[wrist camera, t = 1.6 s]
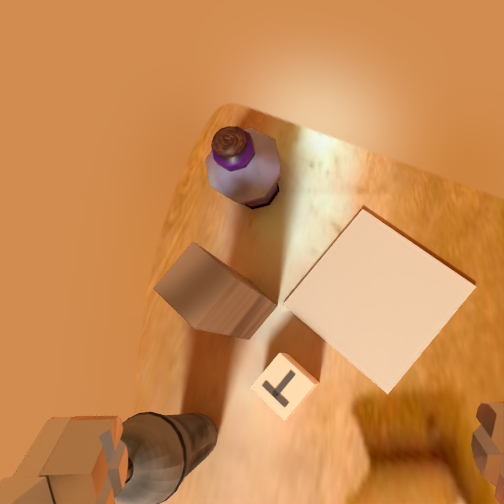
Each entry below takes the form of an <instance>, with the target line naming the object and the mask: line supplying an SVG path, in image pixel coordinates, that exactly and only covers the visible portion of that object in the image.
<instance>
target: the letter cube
mask: <svg viewBox="0 0 504 504" xmlns="http://www.w3.org/2000/svg"><path fill="white" fill-rule="evenodd" d="M318 383H319V382H318V381H317V380H316V379H315V378H314V377H313V376H312V375H311V374H310V373H308V372H307V371H306V370H305V369H304V368H303V367H302V366H301V365H300V364H298V363H297V362H296V361H295V360H294V359H293V358H292V357H291V356H290V355H289V354H287V353H279V354H278V355H277V356H276V357H275V359H274V360H273V361H272V362H271V363H270V365H269V366H268V367H267V368H266V369H265V371H264V372H263V373H262V374H261V375H260V377H259V378H258V379H257V380H256V382H255V383H254V384H253V385H252V386H251V389H252V390H253V391H254V392H255V393H256V394H257V395H258V396H259V397H260V398H261V399H262V400H263V401H265V402H266V403H267V404H268V405H269V406H270V407H271V408H272V409H273V410H274V411H275V412H276V413H277V414H278V415H279V416H280V417H281V418H282V419H283V420H284V421H285V420H287V419H288V418H289V417H291V416H292V415H293V414H294V413H295V411H296V410H297V409H298V408H299V407H300V405H301V404H302V403H303V402H304V400H305V399H306V398H307V397H308V396H309V394H310V393H311V392H312V391H313V390H314V388H315V387H316V386H317V385H318Z"/></svg>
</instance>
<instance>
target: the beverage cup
mask: <svg viewBox="0 0 504 504" xmlns="http://www.w3.org/2000/svg"><path fill="white" fill-rule="evenodd" d="M122 425H123V432H122V435H121V438H120V440H121V441H123V442H124V443H125V444H126V446H127V452H128V468H127V476H126V480H125V484H124V487H123V490H122V491H121V492H120V493H119V494H118V495H117V496H116V497H115V498H114V499H115V501H116V502H118V503H119V504H159V503H162V502H164V501H166V500H167V499H168V498H170V497H171V496H172V495H173V494H174V493H175V492H176V491H177V489H178V487H179V485H180V484H181V482H182V481H183V479H184V478H185V477H186V476H187V475H188V474H189V473H190V472H191V471H192V470H193V469H194V468H195V467H197V466H198V465H199V464H200V463H201V462H202V461H203V460H204V459H205V458H206V457H207V456H208V455H209V454H210V453H211V452H212V451H213V449H214V447H215V445H216V441H217V430H216V427H215V425H214V423H213V422H212V420H211V419H210V418H208V417H207V416H205V415H202V414H180V415H161V414H157V413H154V412H145V413H139V414H136V415H134V416H132V417H130V418H128V419H127V420H126V421H125V422H123V423H122Z"/></svg>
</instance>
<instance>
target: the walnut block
mask: <svg viewBox="0 0 504 504" xmlns="http://www.w3.org/2000/svg"><path fill="white" fill-rule="evenodd" d="M153 289H154V290H155V291H156V292H157V293H158V294H159V295H160V296H161V297H162V298H163V299H164V300H165V301H166V302H167V303H168V304H169V305H171V306H172V307H173V308H174V309H175V310H176V311H177V312H178V313H179V314H180V315H181V316H182V317H183V318H184V319H185V320H186V321H187V322H188V323H189V324H190V325H191V326H192V327H193V328H194V329H197V330H202V331H207V332H212V333H217V334H223V335H228V336H233V337H238V338H243V339H248V340H249V339H250V338H251V337H252V336H253V334H254V333H255V332H256V331H257V330H258V328H259V327H260V326H261V325H262V324H263V322H264V321H265V320H266V319H267V318H268V316H269V315H270V314H271V313H272V312H273V310H274V309H275V308H276V307H277V305H276V304H275V303H274V302H273V301H272V300H270V299H269V298H268V297H267V296H266V295H265V294H263V293H262V292H261V291H260V290H259V289H258V288H256V287H255V286H254V285H253V284H252V283H251V282H249V281H248V280H247V279H246V278H245V277H243V276H242V275H240V274H239V273H237V272H236V271H235V270H233V269H232V268H230V267H229V266H227V265H226V264H225V263H223V262H222V261H220V260H219V259H217V258H216V257H215V256H213V255H212V254H210V253H209V252H207V251H206V250H205V249H203V248H202V247H200V246H199V245H197V244H196V243H195V242H192V243H191V244H190V245H189V246H188V248H187V249H186V250H185V251H184V252H183V254H182V255H181V256H180V257H179V258H178V259H177V261H176V262H175V263H174V264H173V265H172V267H171V268H170V269H169V270H168V271H167V272H166V274H165V275H164V276H163V277H162V278H161V280H160V281H159V282H158V283H157V284H156V285H155V287H154V288H153Z"/></svg>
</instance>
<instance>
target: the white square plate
mask: <svg viewBox="0 0 504 504" xmlns="http://www.w3.org/2000/svg"><path fill="white" fill-rule="evenodd" d="M475 287H476V286H475V285H473V284H472V283H470V282H469V281H467V280H466V279H465V278H463V277H462V276H460V275H459V274H457V273H456V272H454V271H453V270H451V269H450V268H448V267H447V266H446V265H444V264H443V263H441V262H440V261H438V260H437V259H435V258H434V257H432V256H431V255H429V254H428V253H427V252H425V251H424V250H422V249H421V248H419V247H418V246H416V245H415V244H413V243H412V242H410V241H409V240H408V239H406V238H405V237H403V236H402V235H400V234H399V233H397V232H396V231H394V230H393V229H392V228H390V227H389V226H387V225H386V224H384V223H383V222H381V221H380V220H378V219H377V218H375V217H374V216H373V215H371V214H370V213H368V212H367V211H365V210H364V209H362V210H361V211H360V213H359V214H358V215H357V216H356V217H355V219H354V220H353V221H352V222H351V223H350V225H349V226H348V227H347V228H346V229H345V231H344V232H343V233H342V234H341V235H340V237H339V238H338V239H337V240H336V241H335V243H334V244H333V245H332V246H331V247H330V248H329V250H328V251H327V252H326V253H325V254H324V256H323V257H322V258H321V259H320V260H319V262H318V263H317V264H316V265H315V266H314V268H313V269H312V270H311V271H310V272H309V274H308V275H307V276H306V277H305V278H304V280H303V281H302V282H301V283H300V284H299V286H298V287H297V288H296V289H295V290H294V292H293V293H292V294H291V295H290V296H289V298H288V299H287V300H286V301H285V302H284V304H283V305H284V306H285V307H286V308H287V309H289V310H290V311H291V312H292V313H293V314H295V315H296V316H297V317H298V318H299V319H300V320H302V321H303V322H304V323H305V324H306V325H307V326H309V327H310V328H311V329H312V330H313V331H314V332H316V333H317V334H318V335H319V336H320V337H321V338H323V339H324V340H325V341H326V342H327V343H328V344H330V345H331V346H332V347H333V348H334V349H335V350H337V351H338V352H339V353H340V354H341V355H342V356H344V357H345V358H346V359H347V360H348V361H349V362H351V363H352V364H353V365H354V366H355V367H356V368H358V369H359V370H360V371H361V372H362V373H364V374H365V375H366V376H367V377H368V378H369V379H371V380H372V381H373V382H374V383H375V384H376V385H378V386H379V387H380V388H381V389H382V390H383V391H385V392H386V393H387V394H388V393H389V392H390V391H391V390H392V389H393V387H394V386H395V385H396V384H397V382H398V381H399V380H400V379H401V378H402V376H403V375H404V374H405V373H406V372H407V370H408V369H409V368H410V367H411V365H412V364H413V363H414V362H415V361H416V359H417V358H418V357H419V356H420V354H421V353H422V352H423V351H424V350H425V348H426V347H427V346H428V345H429V343H430V342H431V341H432V340H433V339H434V337H435V336H436V335H437V334H438V333H439V331H440V330H441V329H442V328H443V326H444V325H445V324H446V323H447V322H448V320H449V319H450V318H451V317H452V315H453V314H454V313H455V312H456V311H457V309H458V308H459V307H460V306H461V304H462V303H463V302H464V301H465V300H466V298H467V297H468V296H469V295H470V294H471V292H472V291H473V290H474V289H475Z"/></svg>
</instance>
